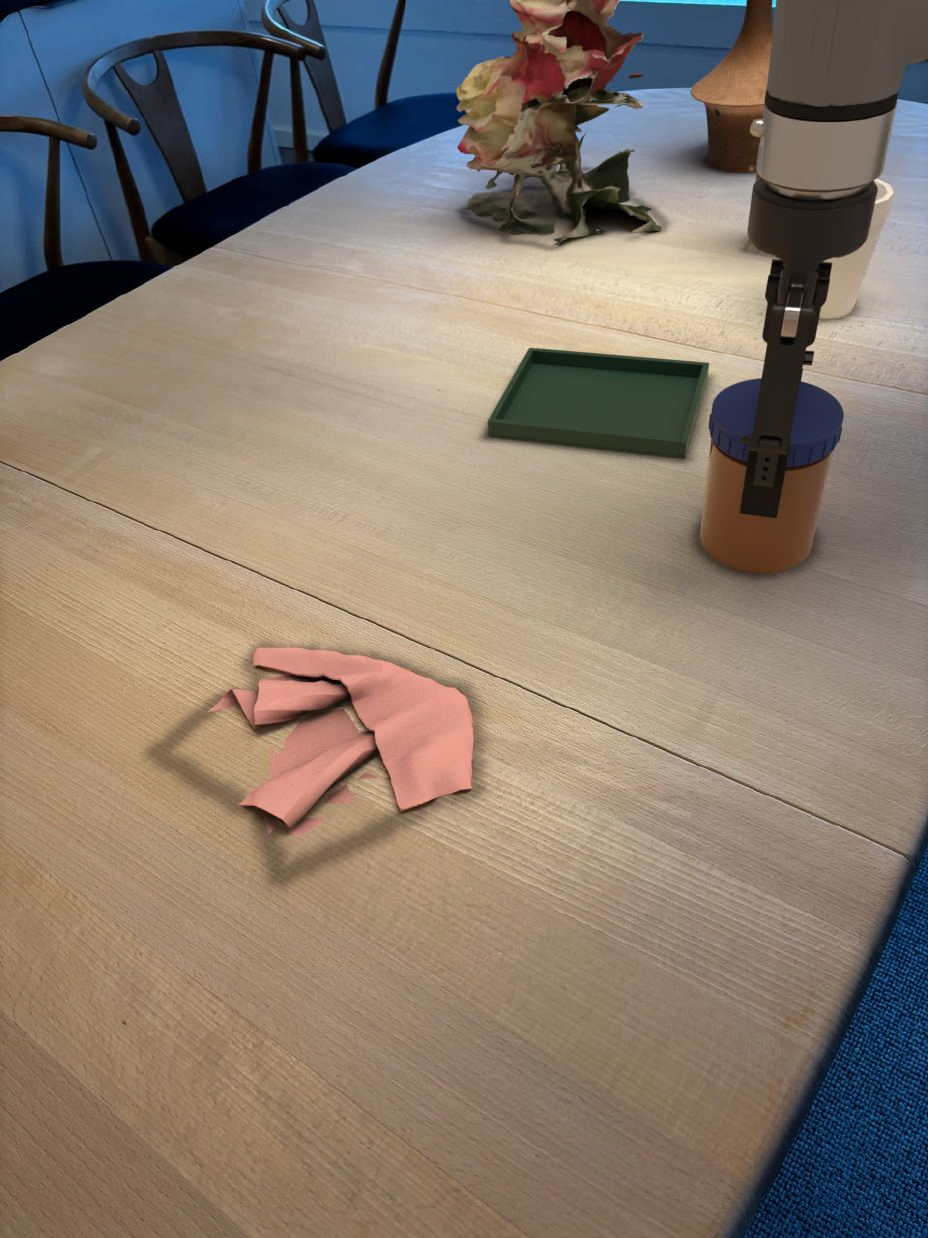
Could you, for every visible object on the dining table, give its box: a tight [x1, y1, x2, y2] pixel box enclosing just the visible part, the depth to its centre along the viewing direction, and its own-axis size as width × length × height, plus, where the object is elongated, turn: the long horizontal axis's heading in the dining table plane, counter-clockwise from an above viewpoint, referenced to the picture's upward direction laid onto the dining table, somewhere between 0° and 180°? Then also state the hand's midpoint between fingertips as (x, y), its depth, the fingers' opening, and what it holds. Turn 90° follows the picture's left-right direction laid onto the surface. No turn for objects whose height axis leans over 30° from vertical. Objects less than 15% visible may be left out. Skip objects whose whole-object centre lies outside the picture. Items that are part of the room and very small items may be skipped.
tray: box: [487, 347, 710, 460], centre depth 95 cm, size 19×15×2 cm
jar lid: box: [707, 377, 845, 467], centre depth 71 cm, size 10×10×2 cm
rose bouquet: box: [455, 0, 692, 246], centre depth 124 cm, size 26×29×30 cm
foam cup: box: [819, 178, 895, 320], centre depth 103 cm, size 10×9×13 cm
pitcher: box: [690, 0, 773, 174], centre depth 135 cm, size 18×17×28 cm
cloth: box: [207, 646, 475, 837], centre depth 66 cm, size 20×22×2 cm
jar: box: [699, 437, 834, 574], centre depth 75 cm, size 9×9×12 cm
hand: (765, 475), depth 75 cm, fingers closed on jar lid, 9 cm apart
